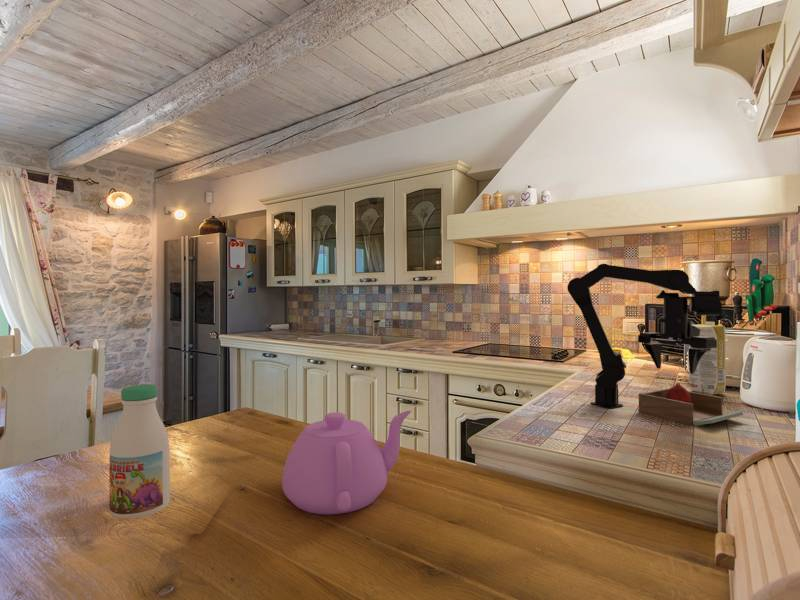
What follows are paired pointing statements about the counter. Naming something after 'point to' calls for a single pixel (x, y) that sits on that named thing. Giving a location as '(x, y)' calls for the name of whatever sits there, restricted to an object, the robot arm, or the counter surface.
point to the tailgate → (718, 418)
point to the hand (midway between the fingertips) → (675, 370)
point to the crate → (680, 406)
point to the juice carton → (710, 363)
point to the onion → (678, 393)
